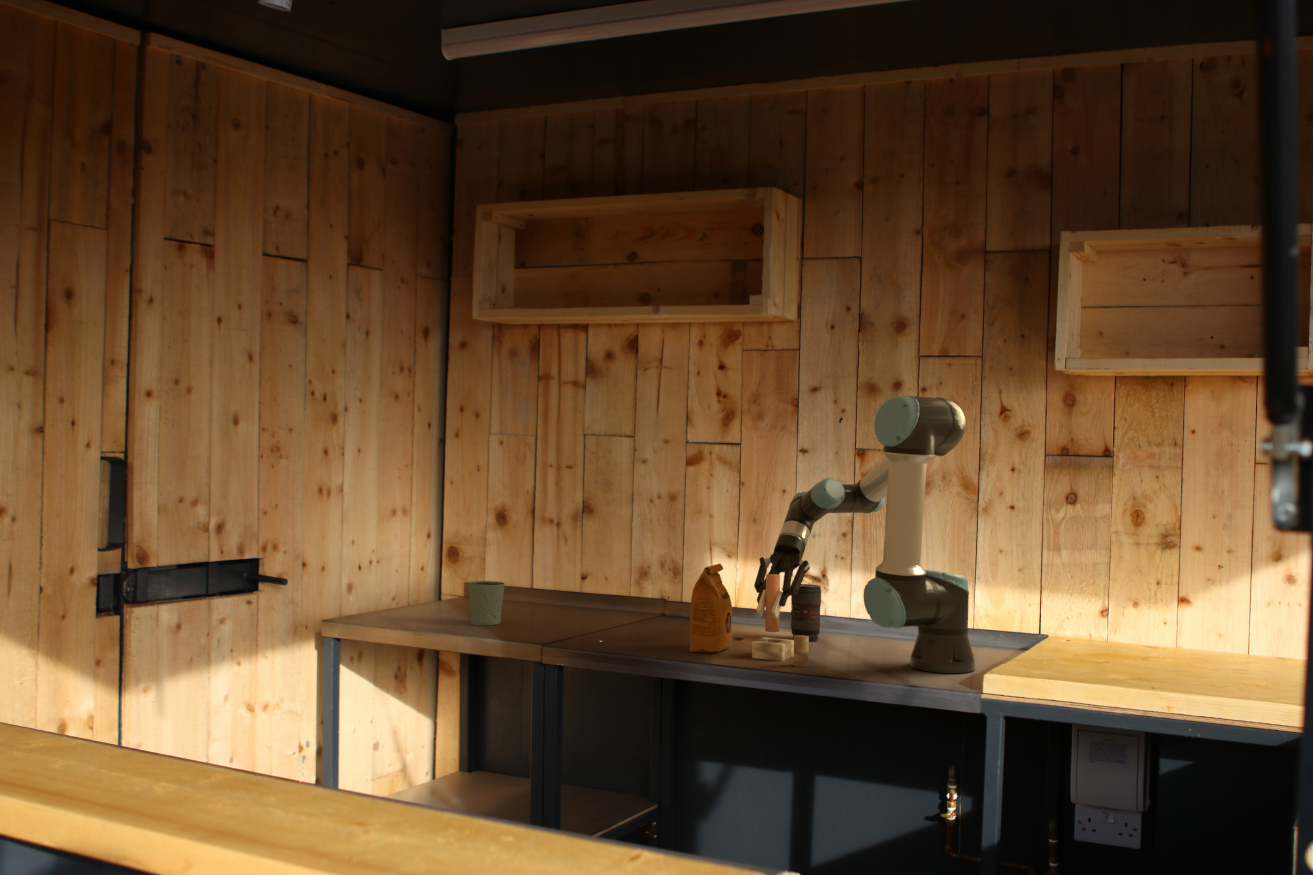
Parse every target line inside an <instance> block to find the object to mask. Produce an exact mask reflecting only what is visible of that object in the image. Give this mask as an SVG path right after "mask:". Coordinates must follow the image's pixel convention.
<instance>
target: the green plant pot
mask: <svg viewBox="0 0 1313 875" xmlns="http://www.w3.org/2000/svg"><path fill="white" fill-rule="evenodd" d="M468 587H469V588H468V589H469V605H470V606H469V607H470V609H469V610H470V614H469V615H470V616H469V617H470V625H471V624H473V625H472V626H474V625H494V624H499V623H500V624H501V620H502V619H501V618H502V607H503V600H504V592H505V582H502V581H493V580H476V581H470V582H469V586H468ZM500 624H499V625H500Z"/></svg>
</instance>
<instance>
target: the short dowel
mask: <svg viewBox="0 0 1313 875" xmlns="http://www.w3.org/2000/svg"><path fill="white" fill-rule="evenodd" d="M809 643H810V642H809V637H808V636H803V635H797V636H794V656H793V666H794V667H795V668H796V667H797V668H807V667H809V654H810V653H809V651H810V650H809V648H810V647H809V646H810V644H809Z"/></svg>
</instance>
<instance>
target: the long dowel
mask: <svg viewBox="0 0 1313 875" xmlns="http://www.w3.org/2000/svg"><path fill="white" fill-rule="evenodd" d="M765 578H766V606H765V618H764V619H765V622H764V624H765V625H764V626H765V627H764V630H765V632H767V633H779V632H780V613H781V611H780V612H779V615H778V618H777V619H775V618H774V616H773V614H772V609H773V606H774V604H775V601H776V598H777V595H778V592H779V591H781V575H780V574H779V575H777V574H768V573H766V576H765Z"/></svg>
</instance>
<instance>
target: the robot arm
mask: <svg viewBox="0 0 1313 875" xmlns="http://www.w3.org/2000/svg"><path fill="white" fill-rule="evenodd" d="M966 427H967V423H966V417H965V414H964V412H963V410H962V409H961V407H960V406H959V405H958V404H957V403H956V402H954V401H952V400H951V399H948V398H945V397H938V396H936V397H929V396H914V395H913V396H912V395H899V396H898V395H897V396H892V397H890V398H888V399H887V400H885V401H884V403H883V404H882V405H880V407H879V408H878V410H877V413H876V414H875V419H874V425H873V429H874V431H873V432H874V434H875V436H876V439H877V441H878V442H879V443H880V444H881V445H883V454H884V456H886V458H885V459H884V460H882V461H881V462H880V463H879V464H877V465H876V466H875V467H874V468H872V470H870V471H869V473H867V474H866V475H865V476H864V477H863V478H861V479H860V480H858V481H857V482H856V483H854V484H853V483H851V484H849V483H848V484H847V483H846V484H844V483H843V484H842V482H840V481H839V480H836V479H834V478H833V477H826V478H823V479H822V480H820V481H819V482H817V483H816V484H814V485H813V486H812V488H810V489H809V490H807V491H802V492H797V493H796V494H795V495H794V496H793V497H792V499H791V501H790V503H789V506H788V511H787V513H786V515H785V519H784V521H783V524H782V527H781V530H780V532H779V534H778V538H777V540H776V543H775V545H774V548H773V553H772V554H771V555H770V556H769V557H768V558H767V557H766V558H764V557H763V556H761V557H760V558H759V568H758V570H757V574H756V578H755V582H754V586H753V587H754V589H755V591H756V594H758V595H757V597H756V601H757V606H756V614H757V616H758V618H763V614H764V612H765V610H766V575H767V574H777V575H780V574H781V573H784V575H783V580H782V581H783V583H782V588H781V590H780V591H779V592H778V595H777V598H776V601H775V604H774V606H773V609H772V614H773V616H774V618H775V619H777V618H778V615H779V612H780V613H781V609H782V607H785V606H786V604H787V601H788V598H790V597H791V595H792V596H796V595H797V593H798V590H799V588H800V585H801V584H803V580H804V578H805V576H806V573H808V571H810V568H811V567H810V564H809V562H808V560H806V559H805V560H803V556H804V553H805V551H806V546H807V545H808V542H809V539H810V537H811V536H810V535H811V532H812V530H813V528H814V525H815V523H817V522H818V521H820V519H822V518H823V517H825V516H826V515H827V514H846V513H848V514H851V513H853V514H857V513H859V514H862V513H863V514H871V513H877V512H879V511H881V510H882V508H883V506H884V504H885V501H886V505H885V506H886V507H885V508H886V509H885V521H884V522H885V525H884V535H883V536H884V539H883V554H882V556H883V557H882V561H881V563H880V564H878V565H877V566H876V567H875V574H874V577H873V578H872V579H869V581H867V582H866V585H865V586H864V588H863V594H862V595H863V596H862V597H863V603H864V607H865V611H866V613H867V615H868V616H869V618H870V619H871V620H872V621H873V622H874V624H875V625H877V626H879V627H881V628H884V629H892V628H893V629H901V628H908V627H909V628H911V627H917V636H916V640H915V641H914V644H913V646H912V647H913V648H912V651H911V653H910V659H909V662H910V663H909V665H910V667H911V668H914V669H916V670H919V671H924V672H930V673H938V674H939V673H940V674H942V673H943V674H962V673H963V674H964V673H971V672H973V671H975V669H976V659H975V656H974V653H973V648H972V646H971V643H970V640H969V630H968V628H969V599H970V597H969V596H970V591H969V581H968V580H969V579H968V578H967V576H965V575H964V574H960V573H959V574H958V573H952V572H947V571H946V572H945V571H940V570H939V571H938V570H931V569H925V568H924V567H923V566H922V564H921V556H922V544H923V543H922V541H923V527H924V526H923V525H924V510H925V498H926V496H925V494H926V484H927V482H926V481H927V467H928V466H927V465H928V464H929V463H930V462H931V461H933V460H934V459H936V458H937V457H940V458H941V457H945V456H946V455H947V454H948V453H949V452H952V450H953V449H955V448H956V446H958V444H959V443H960V442H961V441H962V439H963V438H964V435H965V433H966ZM770 564H771V567H770ZM769 567H770V569H769V572H768V573H767V571H768V568H769ZM796 569H797V570H796ZM794 570H796V573H795V575H794ZM793 575H794V577H793ZM792 578H793V580H792Z"/></svg>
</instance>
